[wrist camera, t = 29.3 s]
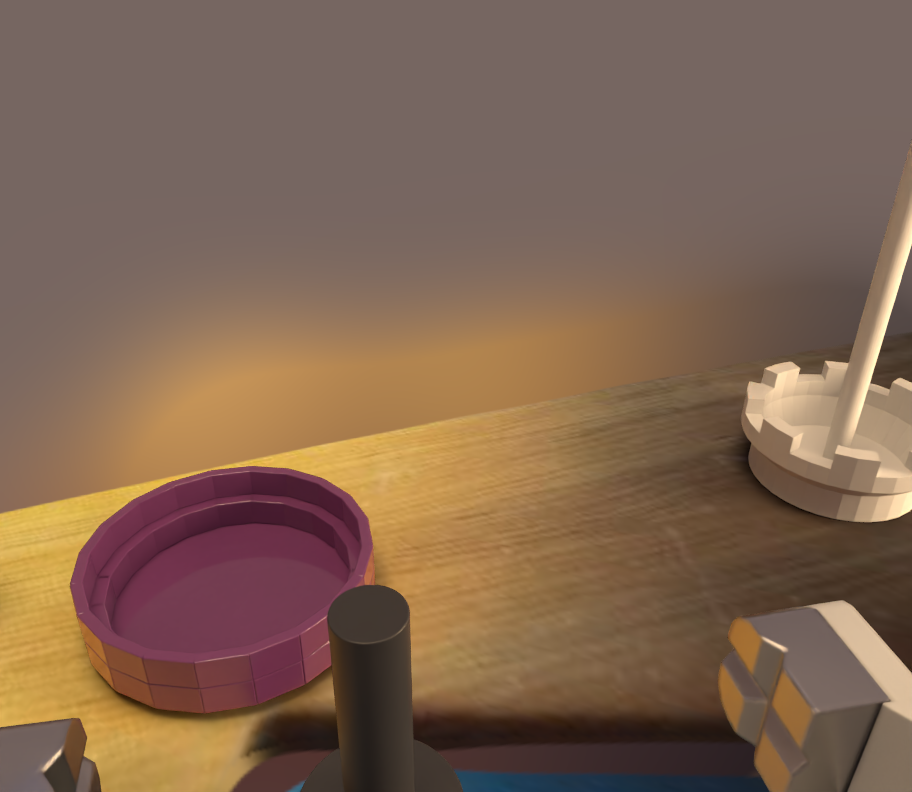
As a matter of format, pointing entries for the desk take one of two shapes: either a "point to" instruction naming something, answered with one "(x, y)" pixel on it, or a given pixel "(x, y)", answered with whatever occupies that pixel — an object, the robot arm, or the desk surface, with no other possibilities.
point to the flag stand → (842, 411)
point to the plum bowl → (220, 587)
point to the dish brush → (375, 702)
